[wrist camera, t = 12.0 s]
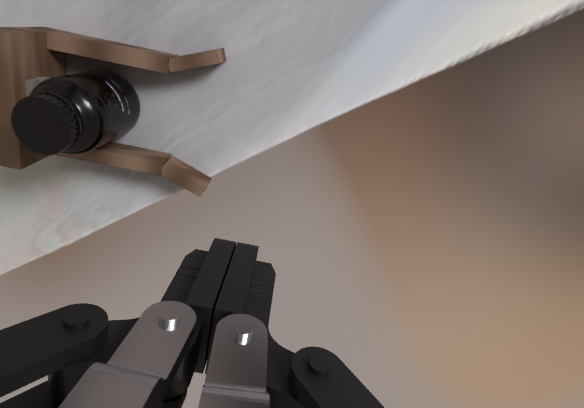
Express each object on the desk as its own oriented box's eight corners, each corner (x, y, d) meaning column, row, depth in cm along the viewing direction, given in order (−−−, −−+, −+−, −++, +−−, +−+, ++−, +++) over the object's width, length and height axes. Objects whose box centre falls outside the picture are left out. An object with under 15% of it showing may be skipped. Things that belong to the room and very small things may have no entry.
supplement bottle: (151, 90, 42) (95, 113, 31) (128, 145, 45) (69, 183, 34) (89, 55, 41) (8, 66, 30) (69, 113, 44) (-13, 142, 33)
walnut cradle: (227, 49, 40) (208, 54, 33) (210, 187, 46) (191, 218, 39) (43, 9, 39) (-18, 6, 32) (50, 155, 46) (0, 180, 38)
